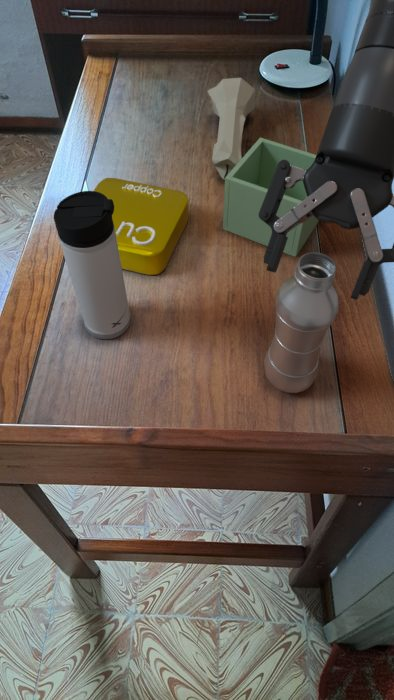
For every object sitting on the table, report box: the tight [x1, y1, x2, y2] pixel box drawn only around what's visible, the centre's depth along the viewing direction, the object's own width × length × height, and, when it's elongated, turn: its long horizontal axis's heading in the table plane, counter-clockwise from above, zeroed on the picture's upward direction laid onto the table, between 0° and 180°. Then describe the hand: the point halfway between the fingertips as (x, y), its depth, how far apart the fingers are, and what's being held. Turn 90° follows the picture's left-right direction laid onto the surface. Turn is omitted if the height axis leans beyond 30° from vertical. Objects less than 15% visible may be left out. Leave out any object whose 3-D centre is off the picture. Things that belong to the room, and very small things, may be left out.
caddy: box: [222, 137, 320, 258], centre depth 78 cm, size 13×12×10 cm
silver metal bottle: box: [263, 251, 340, 394], centre depth 56 cm, size 6×7×20 cm
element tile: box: [93, 177, 190, 276], centre depth 78 cm, size 15×15×5 cm
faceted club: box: [207, 77, 256, 181], centre depth 90 cm, size 9×8×25 cm
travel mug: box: [53, 190, 131, 340], centre depth 62 cm, size 6×7×20 cm
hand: (311, 284), depth 50 cm, fingers open, 8 cm apart
